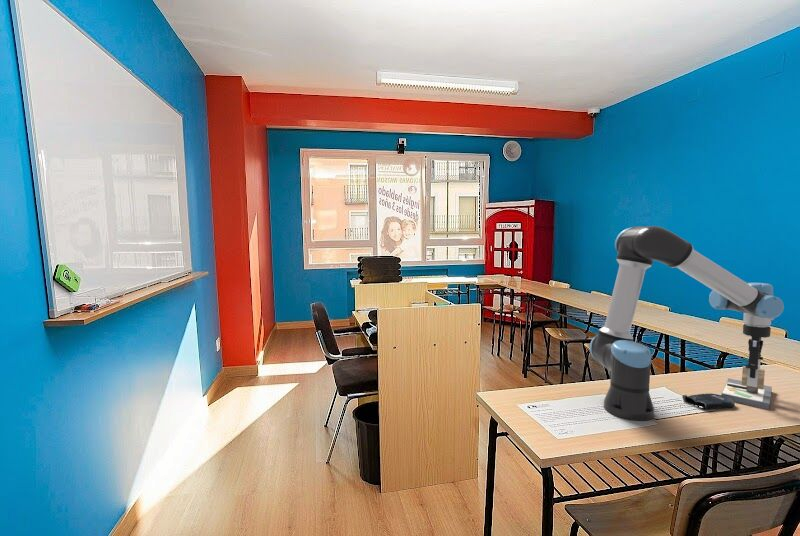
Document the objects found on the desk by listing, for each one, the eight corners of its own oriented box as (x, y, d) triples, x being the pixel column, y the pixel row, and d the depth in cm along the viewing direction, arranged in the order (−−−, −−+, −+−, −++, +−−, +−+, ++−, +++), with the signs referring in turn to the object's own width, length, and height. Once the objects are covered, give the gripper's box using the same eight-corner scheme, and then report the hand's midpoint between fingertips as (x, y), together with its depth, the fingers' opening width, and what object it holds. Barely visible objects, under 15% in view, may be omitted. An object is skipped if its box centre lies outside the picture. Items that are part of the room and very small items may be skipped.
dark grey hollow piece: (708, 417, 135) (741, 406, 138) (705, 401, 135) (738, 391, 138) (683, 409, 144) (715, 399, 147) (680, 394, 144) (712, 385, 148)
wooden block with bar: (762, 395, 143) (764, 371, 143) (726, 387, 151) (728, 364, 150) (763, 392, 146) (764, 369, 145) (727, 385, 153) (729, 363, 152)
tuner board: (768, 409, 137) (769, 403, 137) (721, 398, 146) (721, 392, 146) (771, 391, 152) (771, 385, 152) (728, 383, 162) (728, 377, 161)
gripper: (769, 332, 133) (765, 393, 135) (772, 320, 151) (768, 374, 152) (740, 329, 138) (736, 387, 140) (746, 318, 156) (743, 370, 158)
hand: (753, 381), depth 146 cm, fingers open, 13 cm apart
